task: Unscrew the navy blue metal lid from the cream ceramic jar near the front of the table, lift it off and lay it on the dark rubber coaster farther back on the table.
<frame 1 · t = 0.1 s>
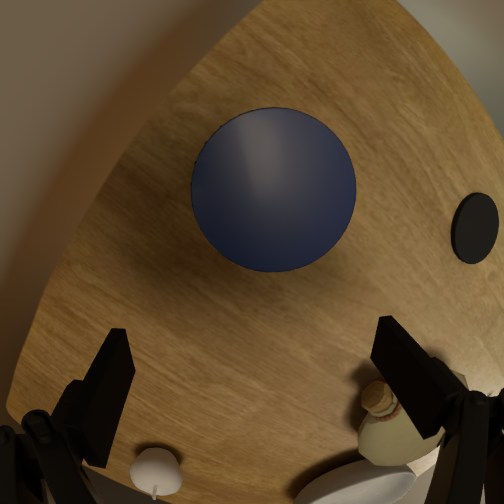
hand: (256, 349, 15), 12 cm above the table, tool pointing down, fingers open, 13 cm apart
serving bowl: (345, 476, 39), on the table
flask: (392, 390, 33), on the table
apple: (159, 453, 33), on the table
coaster: (474, 227, 27), on the table
jar lid: (275, 190, 14), point 11 cm above the table, screwed on, not yet turned
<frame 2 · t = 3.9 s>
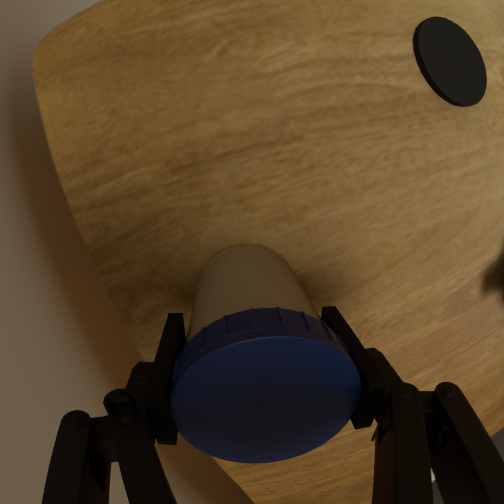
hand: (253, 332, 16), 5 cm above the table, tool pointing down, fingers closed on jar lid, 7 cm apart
coaster: (450, 61, 17), on the table
jar: (246, 292, 21), on the table
jar lid: (266, 406, 11), point 11 cm above the table, screwed on, not yet turned, touching gripper
when the fingers open (5 cm above the table, at t = 5.9 s): jar lid stays where it is, point 11 cm above the table.
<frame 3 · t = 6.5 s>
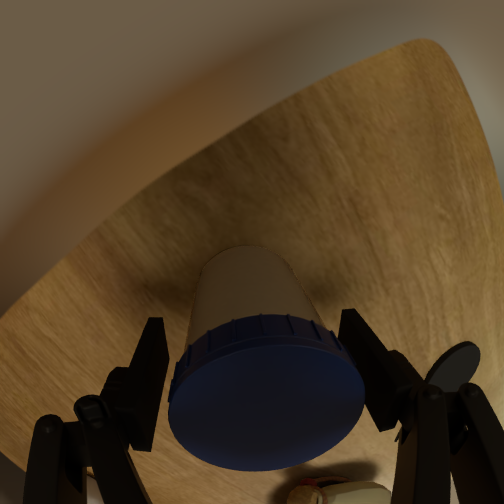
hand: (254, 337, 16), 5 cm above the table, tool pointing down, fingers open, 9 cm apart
flask: (320, 484, 31), on the table
apple: (85, 478, 28), on the table
coaster: (451, 371, 26), on the table
jar: (247, 294, 21), on the table
jar lid: (268, 414, 10), point 11 cm above the table, turned 131° so far, risen 0.2 cm, still on its thread
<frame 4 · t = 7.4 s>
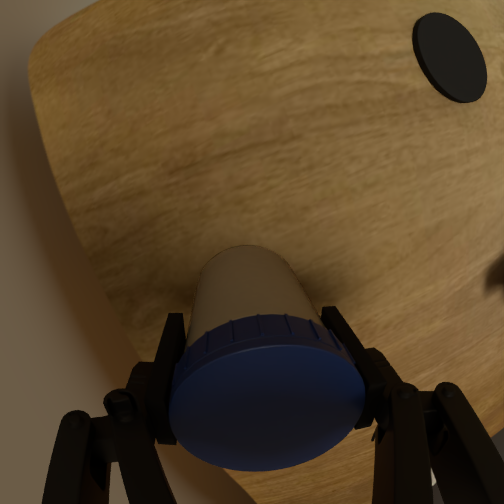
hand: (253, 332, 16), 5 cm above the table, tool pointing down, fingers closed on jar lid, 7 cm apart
coaster: (450, 57, 16), on the table
jar: (247, 294, 21), on the table
jar lid: (268, 414, 10), point 11 cm above the table, turned 131° so far, risen 0.2 cm, still on its thread, touching gripper
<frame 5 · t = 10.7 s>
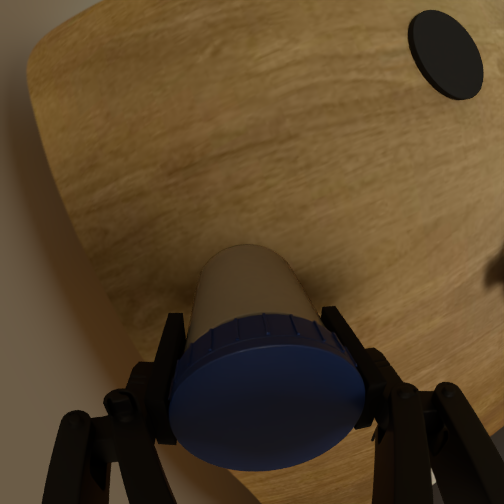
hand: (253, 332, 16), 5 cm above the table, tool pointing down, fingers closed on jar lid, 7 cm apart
coaster: (446, 54, 16), on the table
jar: (247, 293, 21), on the table
jar lid: (268, 414, 10), point 11 cm above the table, turned 262° so far, risen 0.4 cm, still on its thread, touching gripper
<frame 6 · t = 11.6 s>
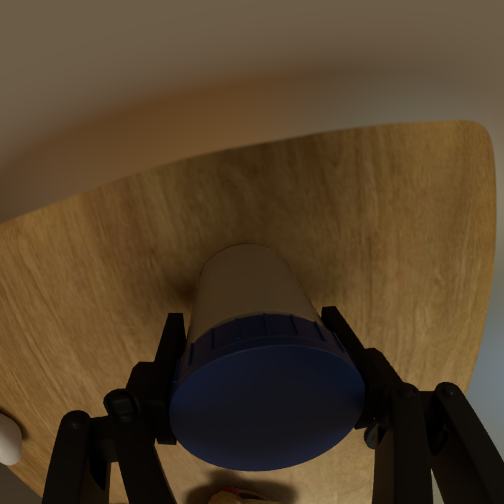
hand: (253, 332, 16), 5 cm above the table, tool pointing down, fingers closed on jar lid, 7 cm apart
flask: (238, 495, 30), on the table
apple: (9, 421, 24), on the table
coaster: (395, 424, 28), on the table
jar: (246, 292, 21), on the table
jar lid: (268, 414, 10), point 11 cm above the table, turned 360° so far, risen 0.5 cm, still on its thread, touching gripper
when the fingers open (1 cm above the table, at t = 19.6 s): jar lid drops 5 cm, resting on coaster.
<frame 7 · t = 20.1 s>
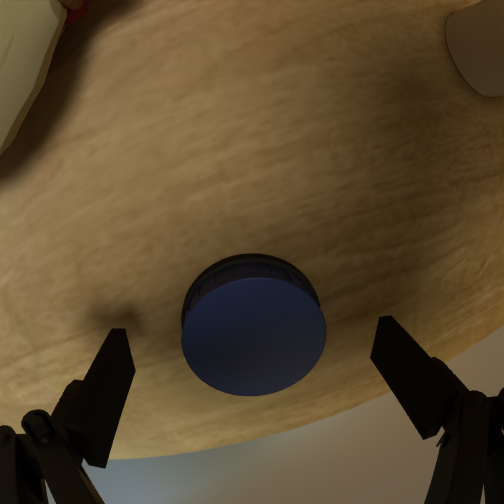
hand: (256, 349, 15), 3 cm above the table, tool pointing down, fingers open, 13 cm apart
flask: (20, 59, 11), on the table
coaster: (251, 318, 18), on the table
jar: (478, 53, 13), on the table
jar lid: (254, 339, 15), point 2 cm above the table, off its thread, touching coaster
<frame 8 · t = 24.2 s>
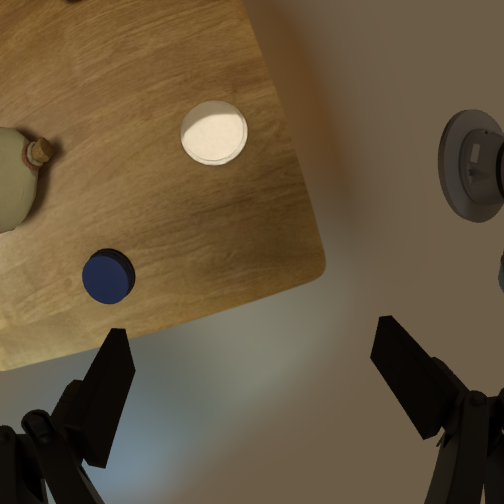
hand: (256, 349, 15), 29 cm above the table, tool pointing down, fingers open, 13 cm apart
flask: (24, 171, 36), on the table
coaster: (110, 274, 42), on the table
jar: (216, 137, 38), on the table
jar lid: (105, 279, 40), point 2 cm above the table, off its thread, touching coaster
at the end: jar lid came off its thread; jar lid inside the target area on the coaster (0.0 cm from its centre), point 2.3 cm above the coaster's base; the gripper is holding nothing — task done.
